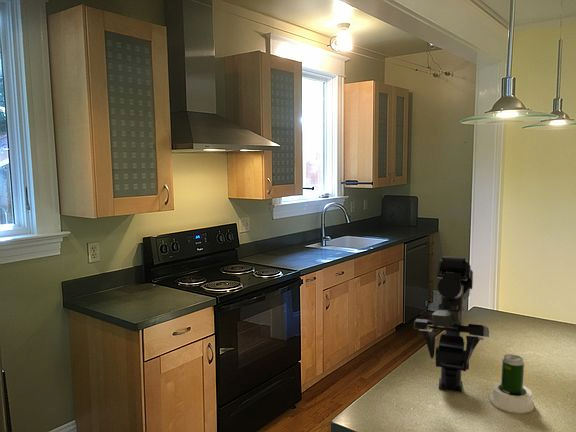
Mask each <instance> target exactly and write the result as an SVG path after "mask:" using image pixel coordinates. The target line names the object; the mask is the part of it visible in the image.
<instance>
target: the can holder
mask: <svg viewBox="0 0 576 432" xmlns="http://www.w3.org/2000/svg"><path fill="white" fill-rule="evenodd" d="M532 398H533V393H532V390H531V389H530V388H528V387H527V386H525V385H523V392H522V396H514V395H509V394H506V393H503V392H502V391H501V381H498V382H496V383H494V384H493V386H492V392H491V393H490V394H489V401H490V403H491V405H493V407H495V408H497V409H498V410H501V411H503V412H506V413H511V414H517V415H525V414H530V413H532V412H534V410H535V409H534V408H535V402H534V401H533V399H532Z"/></svg>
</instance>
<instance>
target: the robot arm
mask: <svg viewBox="0 0 576 432" xmlns="http://www.w3.org/2000/svg"><path fill="white" fill-rule="evenodd" d="M471 268H472V267H471V264H470V262H469V261H468V259H467V258H466V257H464V256H463V257H462V256H453V255H452V256H451V255H442V256H441V259H439V263H438V267H437V274H436V277H437V278H438V279H440V280H439V282H438V284H437V291H438V293H439V294H440V303H438V308H437V310H435V311H434V312H433V313H431V319H425V318H416V319H415V320H414V321H413V329H415V330H416V329H417V332H418V333H421V334H422V336H423V338H424V339H425V342H426V345H427V349H428V353H429V356H430V358H431V359H434V357H435V367H437V368H440V378H439V381H438V389H439V390H442V391H443V390H444V391H451V392H457V393H463V381H462V371H463V372H466V371H467V370H470V359H471V357H472V355H473V352H474V351H475V349H476V347H477V346H478V344H479V342H480V340H481V341H484V338H485V337H487V338H489V337H490V328H489V327H488V326H487V325H484V324H475V323H468V325H464V322H463V314H464V310H465V309H464V303H465V301H466V300H467V299H468V298H469V297H470V295H471V294H470V293H471V290H473V286H474V285H473V284H474V283H473V282H474V272H473V270H472V269H471ZM434 330H440V331H445V333H442V334H441V335H440V336H439V342H438V346H436V332H434ZM461 333H467V334H469V335H466V336H465V337H466V343H465V339H464V338H463V336H461ZM465 344H466V346H465Z"/></svg>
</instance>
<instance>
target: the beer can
mask: <svg viewBox="0 0 576 432" xmlns="http://www.w3.org/2000/svg"><path fill="white" fill-rule="evenodd" d="M524 370H525V362H524V358H523V357H521V356H519V355H517V354H510V353H508V354H504V355H503V358H502V363H501V381H500V382H501V391H502V392H503V393H506V394H509V395H514V396H522V392H523V386H524V372H525V371H524Z"/></svg>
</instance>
